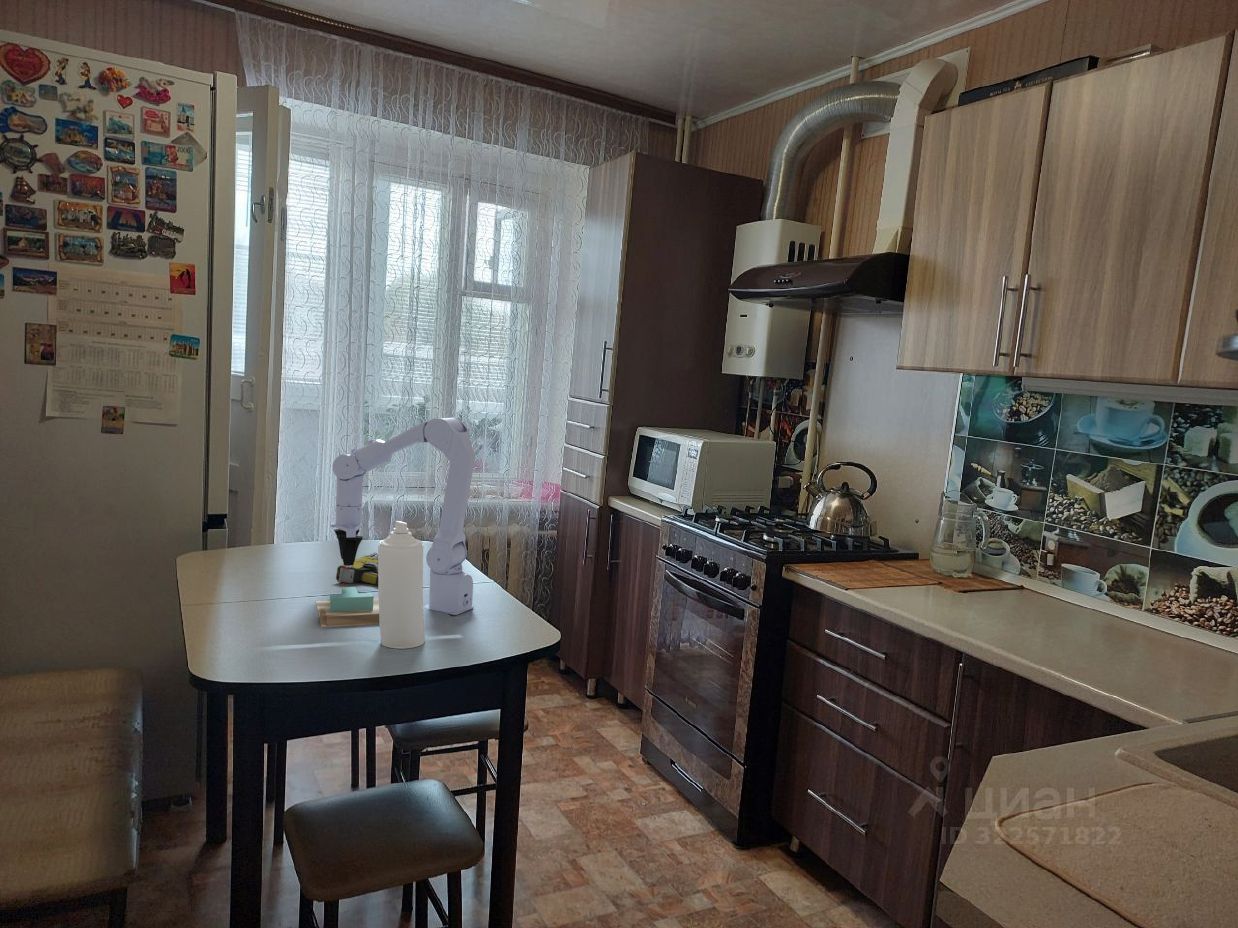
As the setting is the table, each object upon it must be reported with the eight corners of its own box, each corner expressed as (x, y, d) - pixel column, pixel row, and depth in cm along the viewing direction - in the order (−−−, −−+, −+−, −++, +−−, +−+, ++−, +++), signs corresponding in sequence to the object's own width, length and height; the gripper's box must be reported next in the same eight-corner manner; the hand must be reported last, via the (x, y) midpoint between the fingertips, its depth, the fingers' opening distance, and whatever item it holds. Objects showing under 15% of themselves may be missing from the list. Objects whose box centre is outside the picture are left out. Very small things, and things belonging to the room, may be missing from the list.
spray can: (436, 649, 160) (441, 524, 158) (382, 656, 154) (387, 526, 152) (416, 632, 170) (421, 514, 167) (365, 638, 164) (369, 515, 161)
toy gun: (424, 559, 225) (372, 550, 227) (393, 575, 201) (335, 564, 203) (422, 576, 226) (370, 567, 227) (390, 593, 202) (332, 583, 203)
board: (315, 603, 186) (316, 592, 186) (379, 600, 192) (379, 589, 191) (321, 629, 168) (321, 617, 168) (391, 625, 173) (391, 613, 173)
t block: (373, 609, 182) (373, 596, 182) (330, 611, 179) (330, 598, 178) (368, 598, 190) (368, 586, 190) (327, 600, 187) (328, 587, 186)
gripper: (328, 500, 196) (327, 555, 197) (333, 510, 183) (331, 569, 184) (359, 500, 199) (357, 555, 200) (366, 509, 186) (364, 568, 187)
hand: (347, 561), depth 192 cm, fingers open, 6 cm apart
